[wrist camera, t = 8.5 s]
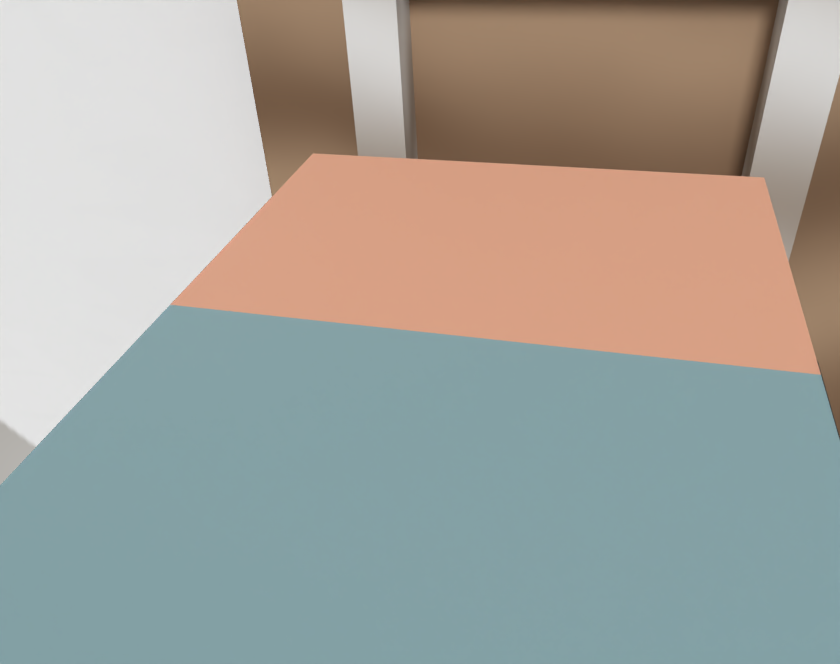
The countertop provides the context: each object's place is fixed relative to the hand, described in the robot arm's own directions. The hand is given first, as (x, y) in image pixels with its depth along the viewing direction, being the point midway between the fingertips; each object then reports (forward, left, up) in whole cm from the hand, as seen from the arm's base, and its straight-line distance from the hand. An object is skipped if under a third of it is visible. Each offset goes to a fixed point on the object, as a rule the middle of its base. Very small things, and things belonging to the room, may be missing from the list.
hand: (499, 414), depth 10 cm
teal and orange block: (0, 0, -2) cm, 2 cm away
